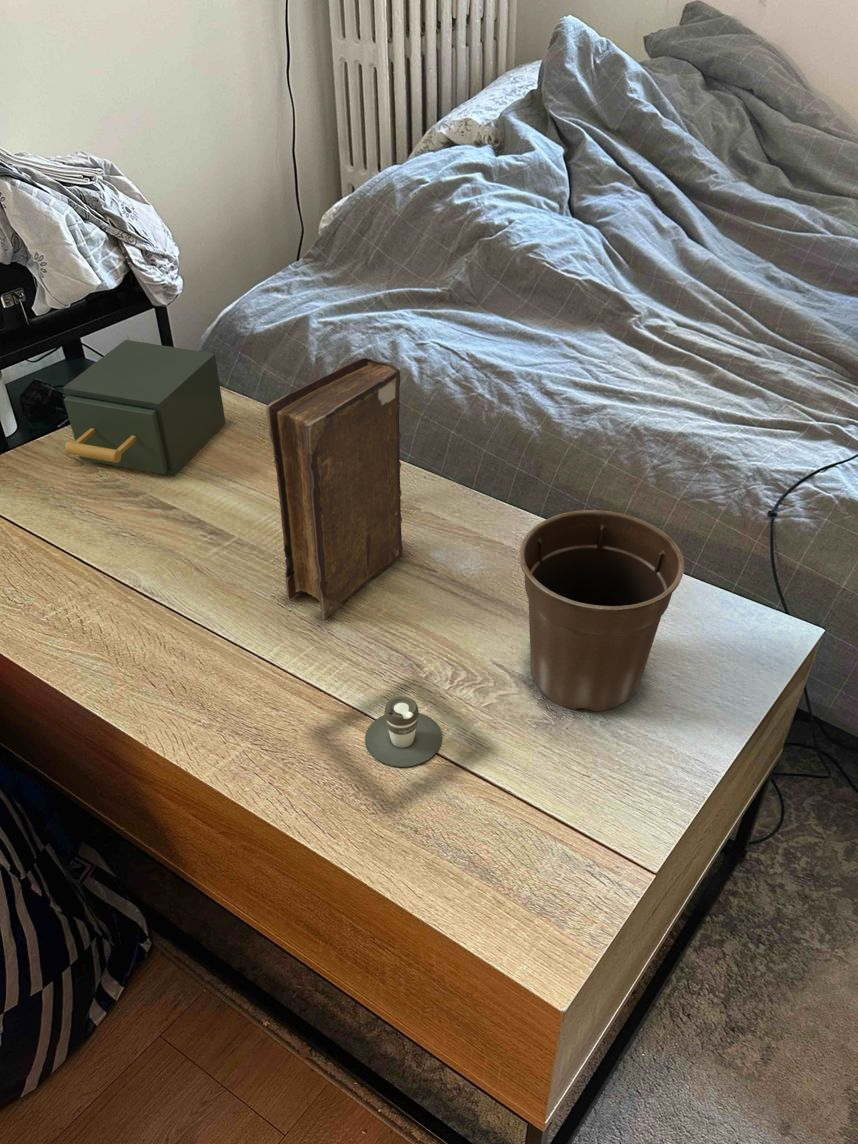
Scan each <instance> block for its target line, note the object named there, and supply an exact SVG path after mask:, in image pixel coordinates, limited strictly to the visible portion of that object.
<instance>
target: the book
mask: <svg viewBox="0 0 858 1144" xmlns="http://www.w3.org/2000/svg"><path fill="white" fill-rule="evenodd" d="M400 389H401V371H400V369H399V368H397V367H396V366H395V365H394V364H390V363H388V362H384V361H381V360H375V359H372V358H366V357H361V358H359V359H356V360H354V361H352V362H349V363H347V364H346V365H342V366H341V367H340V368H339V369H337V370H335V371H333V372H331V373H329V374H327V375H325V376H323V377H320V378H319V379H316V380H314V381H313V382H310V383H308V384H306V385H305V386H302V387H301V388H299V389H297V390H295V391H292V392H288V393H286V394H284V395H283V396H280V397H279V398H278V399H275V400H274V401H272V402H270V403H269V404H267V405H266V406H265V413H266V421H267V422H266V423H267V429H268V436H269V438H270V442H271V445H272V454H273V459H274V460H273V463H274V464H275V465H274V468H275V473H276V482H277V490H278V497H279V499H278V500H279V510H280V520H281V530H282V537H283V538H282V539H283V541H282V542H283V553H284V558H285V560H284V561H285V572H284V576H285V578H284V579H285V589H286V597H287V599H288V600H292V599H293V598H295V597H296V596H298V595H299V594H300V593H301V592H304V593H307V594H308V595H311V596H312V597H313V598H315V599H317V600H318V601H319V605H320V606H319V607H320V615H321V618H322V619H326V618H328V617H330V616H331V615H333V613H335V612H336V611H338V610H339V609H340V608H341V607H342V606H343V605H344V604H345V603H347V602H348V600H350V598H351V597H353V596H354V595H355V594H356V593H357V592H358V591H359V590H360V589H361V588H362V587H364V586H365V585H366V584H367V583H369V582H370V581H371V580H373V579H374V578H375V577H376V576H377V575H379V574H380V573H381V572H383V571H386V570H387V569H388V568H389V567H391V566H393V565H394V564H395V563H396V562H397V561H398V560H399V559H400V558H401V557H402V553H403V537H402V536H403V535H402V522H403V516H402V509H401V508H402V506H401V505H402V503H401V496H402V495H403V493H402V489H401V467H402V463H401V461H400V460H401V459H400V458H401V455H400V454H401V453H400V448H401V446H400V444H401V443H400V440H401V437H402V434H401V433H400V410H401V409H400V408H401V402H400V391H401V390H400Z"/></svg>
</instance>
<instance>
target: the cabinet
mask: <svg viewBox="0 0 858 1144" xmlns="http://www.w3.org/2000/svg"><path fill="white" fill-rule="evenodd" d="M62 389H63V390H62V391H63V393H64V396H65V398H66V397H67V396H74V397H80V398H82V397H86V398H92V399H98V400H104V401H110V402H115V403H121V404H127V405H133V406H139V407H145V408H151V409H155V410H156V413H157V418H158V422H159V427H160V432H161V436H162V441H163V446H164V451H165V455H166V460H167V465H168V471H167V472H166V473H165V474H162V475H163V476H168V477H175V476H176V475H178V473H180V471H181V470H182V469H183V468H185V466H186V465H187V464H188V463H189V462H190V461H191V460H192V459H193V458H194V457H195V456H196V455H197V454H198V453H199V452H200V450H202V448H203V447H204V446H205V445H206V444H208V443H209V441H210V440H212V438H214V436H216V434H217V433H218V432H219V431H220V430H221V429H222V428H223V427H224V426H225V425H226V423H227V422H226V415H225V409H224V408H225V407H224V403H223V397H222V390H221V385H220V377H219V372H218V366H217V359H216V353H212V352H207V351H199V350H193V349H188V348H183V347H182V348H181V347H174V346H169V345H161V344H156V343H150V342H144V341H138V340H130V339H124V340H123V341H122V342H120V343H119V344H117V346H115V347H114V348H113V349H111V350H110V351H109V352H107V353H106V354H105V355H103V356H102V357H101V358H99V359H98V360H97V361H96V362H94V363H92V364H91V365H90V366H89V367H88V368H86V369H85V370H84V371H83V372H81V373H80V374H78V375H77V376H76V377H75V378H74V379H72V380H71V381H70V382H68V383H67V384H65V385H64V386H63V387H62ZM84 461H86V462H89V461H88V460H84ZM90 462H92V463H94V462H93V461H90ZM95 463H97V464H100V463H99V462H95ZM101 464H102V465H108V466H111V465H110V464H105V463H101ZM112 466H113V467H119V468H122V467H121V466H116V465H112ZM123 468H124V469H128V470H133V469H132V468H127V467H123ZM134 470H136V471H139V470H138V469H134ZM140 471H141V472H144V471H143V470H140ZM145 472H146V473H150V472H149V471H145ZM151 473H153V474H155V473H154V472H151ZM156 474H158V475H161V474H160V473H156Z"/></svg>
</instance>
